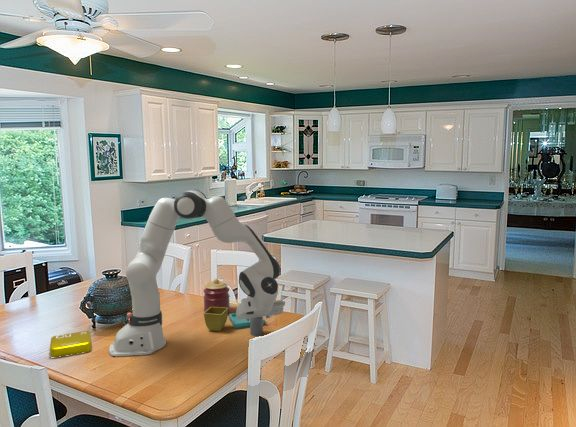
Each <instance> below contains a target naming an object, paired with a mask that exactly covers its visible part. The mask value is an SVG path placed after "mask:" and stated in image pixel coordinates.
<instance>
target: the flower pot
mask: <svg viewBox="0 0 576 427" xmlns="http://www.w3.org/2000/svg"><path fill="white" fill-rule="evenodd" d="M228 315H229V313H228V308H223V307H210V308H209V309H208V310H207V311H206V312H204V311H203V317H204V323H205V326H206V328H207V329H208V330H209V331H210V332H221V331H222V330H223V328H224V327H225V326H226V323H227V319H228Z"/></svg>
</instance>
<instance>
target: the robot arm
mask: <svg viewBox="0 0 576 427" xmlns="http://www.w3.org/2000/svg"><path fill="white" fill-rule="evenodd" d="M148 216H149V217H148V219H147V221H146V225H145V227H144V230H143V231H142V233H141V237H140V243H139V246H138V250H137V253H136V255H135V256H134V258H133V259H132V260H131V261H130V262H129V263H128V265H127V267H126V270H125V276H126V280H127V281H128V287H129V291H130V294H131V304H132V305H131V307H132V312H127V314H126V319H127V323H126V325H124V326H123V327H122V328H121V329H119V330H118V331H117V332H116V335H115V337H114V341H113V342H112V343H111V344H110V345H109V346H108V347H109V349H108V353H109V355H110V356H111V357H113V356H115V357H129V356H144V355H151V354H154V353H155V352H156V351H158V350H160V349H162V348H164V347H165V346H166V344H167V341H166V338H165V335H164V331H163V312H162V309H161V298H160V297H161V294H160V291H159V287H158V283H157V275H158V273H159V271H160V270H161V267H162V264H163V262H164V258H165V255H166V252H167V249H168V246H169V244H170V241H171V239H172V236H173V234H174V230H175V228H176V226H177V223H178V221H179V219H180V218H182V219H184V220H185V219H187V220H188V219H189V220H191V219H195V218H201V217H203V218H205V220H206V221H207V223H208V225H209V227H210V228H211V231H212V233H213V235H214V236H215V237H216V239H217V240H218V241H221V242H222V243H228V244H230V243H231V244H233V243H240V242H241V243H245V244H247V245H248V246H249V247H250V249H251V250H252V251H253V253H254V254H255V256H256V257H257V258H258V261H257V262H255V263H254V264H252V265H251V266H248V267H246V268H245V269H243V270H242V271H240V272H239V275H238V285H239V287H240V289H241V291H242V292H243V293H244V295H247V297H245V298H242V299H241V300H240V303H239V304H238V305H237V307H236V311H235V313H236V316H237V319H239V320H240V319H245V321H249V318H256V317H263V318H264V317H265V319H270V318H271V317H273V316H277V315H279V316H280V315H281V314H283V312H284V307H285V306H286V301H283V300H280V299H277V297H278V295H279V285H278V282H277V280H276V279H278V278H279V276H280V273H281V266H280V263H279V262H278V260H277V259H276V258H274V256H273V255H272V254H271V253H270V252H269V250H268V249H267V248H266V246H265V244H264V243H263V242H262V240H261V239H260V237H259V236H257V234H256V233H255V231H254V230H253V229H252V228H251V227H250V226H249V225H246V224H243V223H242V222H240V221H239V220H238V218H237V216H236V213H235V212H234V210H233V209H232V207H231V206H230V204H229V203H228V202H227V200H226V199H225V198H224V197H223V196H218V195H215V196H212V197H210V198H207V196H206V195H205V194H204V193H203V192H202V191H200V190H197V189H189V190H185V191H183V192H181V193H179V194H178V195H177V196H176V197H175V199H174V198H171V197H162V198H159V199H158V200H157V201H156V203H155V205H154V207H153V208H152V209H151V212H150V214H149V215H148ZM115 357H114V358H115Z"/></svg>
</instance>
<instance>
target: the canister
mask: <svg viewBox="0 0 576 427" xmlns="http://www.w3.org/2000/svg"><path fill="white" fill-rule="evenodd" d="M228 285H229V284H227V282H225V281H222V280H219V278H214V279H213V280H212V281H209V282H207V283H206V284H205V285H204V289H203V294H204V296H203V306H204V308H203V313H204V312H206V311H207V310H208V309H209V308H210V307H223V308H228V314H230V310H231V306H230V297H231V296H230V294H229V291H230V288H229V287H228Z"/></svg>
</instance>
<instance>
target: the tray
mask: <svg viewBox="0 0 576 427" xmlns="http://www.w3.org/2000/svg"><path fill="white" fill-rule="evenodd" d="M228 319H229V321H230V322H231V324H232V326H233V328H234V330H239V329H247V328H249V329H250V318H249V321H245V319H240V320H239V319H237V316H236V312H235V313H234V312H232V313H228ZM265 325H266V323H265V319H264V318H263V327H264V326H265Z"/></svg>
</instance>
